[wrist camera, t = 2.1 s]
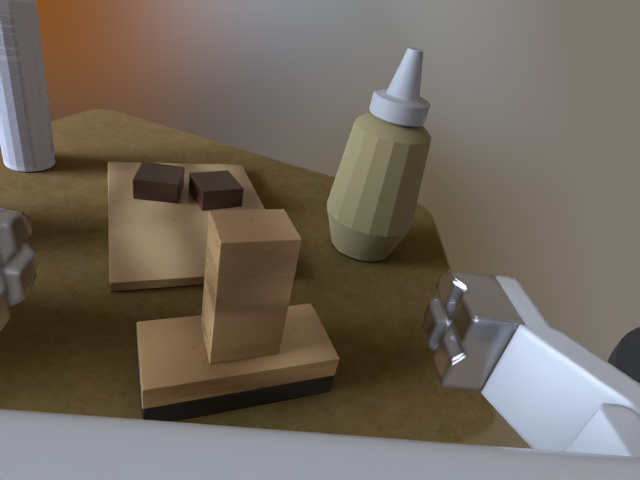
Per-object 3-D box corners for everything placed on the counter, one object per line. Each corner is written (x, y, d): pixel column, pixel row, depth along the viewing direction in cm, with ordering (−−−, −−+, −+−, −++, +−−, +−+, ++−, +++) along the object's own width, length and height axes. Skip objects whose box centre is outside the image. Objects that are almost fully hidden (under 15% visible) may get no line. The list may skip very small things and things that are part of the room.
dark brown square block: (226, 187, 47) (228, 170, 46) (242, 206, 45) (244, 188, 44) (188, 190, 45) (189, 172, 44) (201, 211, 43) (203, 191, 42)
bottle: (58, 170, 45) (29, -70, 35) (5, 174, 43) (-43, -83, 33) (52, 152, 48) (23, -75, 38) (2, 154, 46) (-43, -87, 35)
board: (241, 170, 53) (241, 164, 53) (295, 277, 38) (296, 269, 38) (108, 168, 48) (107, 161, 47) (109, 292, 33) (109, 283, 32)
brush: (304, 335, 33) (335, 199, 27) (330, 391, 29) (373, 247, 23) (137, 357, 28) (133, 200, 23) (142, 427, 25) (138, 260, 19)
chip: (184, 184, 46) (184, 166, 45) (178, 204, 43) (178, 184, 42) (142, 179, 45) (142, 161, 44) (132, 198, 42) (132, 179, 41)
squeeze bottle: (303, 245, 42) (346, 38, 33) (341, 215, 49) (386, 34, 39) (382, 282, 40) (453, 69, 30) (412, 245, 46) (478, 59, 37)
